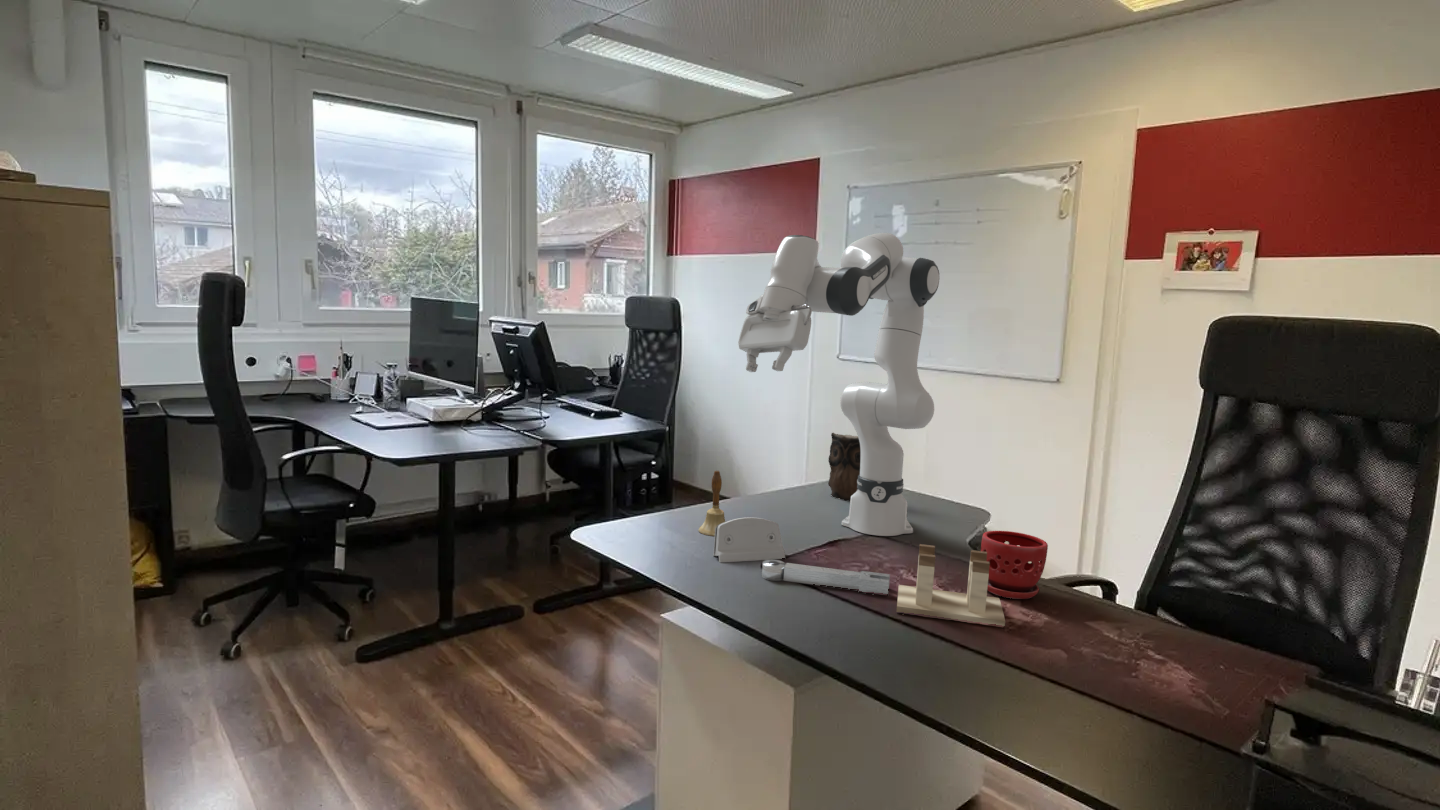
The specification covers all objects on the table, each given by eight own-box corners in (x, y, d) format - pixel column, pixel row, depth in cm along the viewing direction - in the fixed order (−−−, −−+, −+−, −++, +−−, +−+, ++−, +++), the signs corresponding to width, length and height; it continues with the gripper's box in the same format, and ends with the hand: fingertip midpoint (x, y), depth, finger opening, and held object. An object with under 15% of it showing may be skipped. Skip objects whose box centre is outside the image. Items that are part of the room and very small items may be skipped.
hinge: (718, 562, 176) (715, 518, 177) (712, 562, 180) (710, 519, 182) (786, 558, 180) (783, 515, 182) (779, 558, 185) (776, 516, 187)
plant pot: (1049, 606, 158) (1055, 550, 156) (982, 599, 160) (987, 543, 159) (1035, 584, 171) (1040, 531, 169) (973, 577, 173) (978, 525, 171)
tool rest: (898, 591, 162) (902, 538, 161) (998, 605, 158) (1003, 550, 156) (896, 613, 151) (900, 556, 149) (1004, 628, 146) (1010, 570, 144)
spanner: (759, 579, 166) (760, 565, 166) (764, 571, 171) (765, 558, 171) (887, 596, 160) (888, 581, 159) (888, 587, 164) (889, 573, 164)
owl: (873, 503, 234) (878, 438, 231) (832, 502, 233) (837, 437, 230) (862, 493, 246) (867, 431, 243) (823, 492, 245) (827, 430, 242)
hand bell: (734, 535, 196) (737, 474, 194) (702, 536, 194) (705, 474, 192) (726, 526, 204) (728, 466, 202) (695, 527, 202) (697, 467, 200)
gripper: (824, 309, 153) (806, 375, 151) (765, 317, 170) (748, 376, 168) (800, 297, 150) (781, 364, 147) (743, 306, 167) (725, 366, 165)
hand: (763, 370), depth 158 cm, fingers open, 8 cm apart
